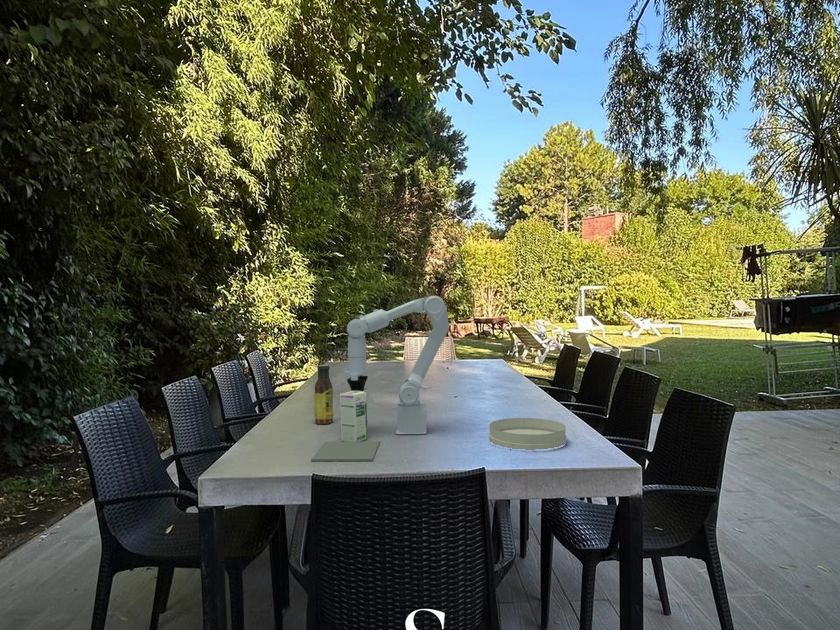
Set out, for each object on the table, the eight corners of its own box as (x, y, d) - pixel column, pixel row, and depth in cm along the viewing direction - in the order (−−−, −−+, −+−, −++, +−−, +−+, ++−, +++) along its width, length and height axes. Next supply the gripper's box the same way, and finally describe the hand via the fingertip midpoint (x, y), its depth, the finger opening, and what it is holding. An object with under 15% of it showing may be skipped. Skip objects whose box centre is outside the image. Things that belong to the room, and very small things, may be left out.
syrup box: (356, 443, 160) (355, 394, 159) (340, 441, 163) (339, 392, 162) (368, 439, 164) (367, 391, 164) (352, 437, 168) (351, 389, 167)
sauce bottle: (329, 425, 184) (328, 366, 184) (311, 424, 185) (310, 366, 185) (336, 421, 191) (335, 364, 190) (319, 420, 192) (318, 364, 191)
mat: (379, 443, 159) (379, 441, 159) (372, 461, 141) (372, 459, 141) (325, 443, 160) (325, 441, 160) (311, 461, 142) (311, 459, 142)
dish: (480, 449, 153) (480, 431, 153) (498, 431, 174) (498, 415, 173) (561, 456, 145) (561, 437, 145) (570, 436, 165) (570, 420, 165)
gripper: (348, 355, 179) (349, 396, 180) (340, 359, 165) (341, 404, 165) (369, 354, 179) (370, 396, 180) (363, 359, 165) (364, 404, 165)
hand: (358, 400), depth 172 cm, fingers open, 3 cm apart
